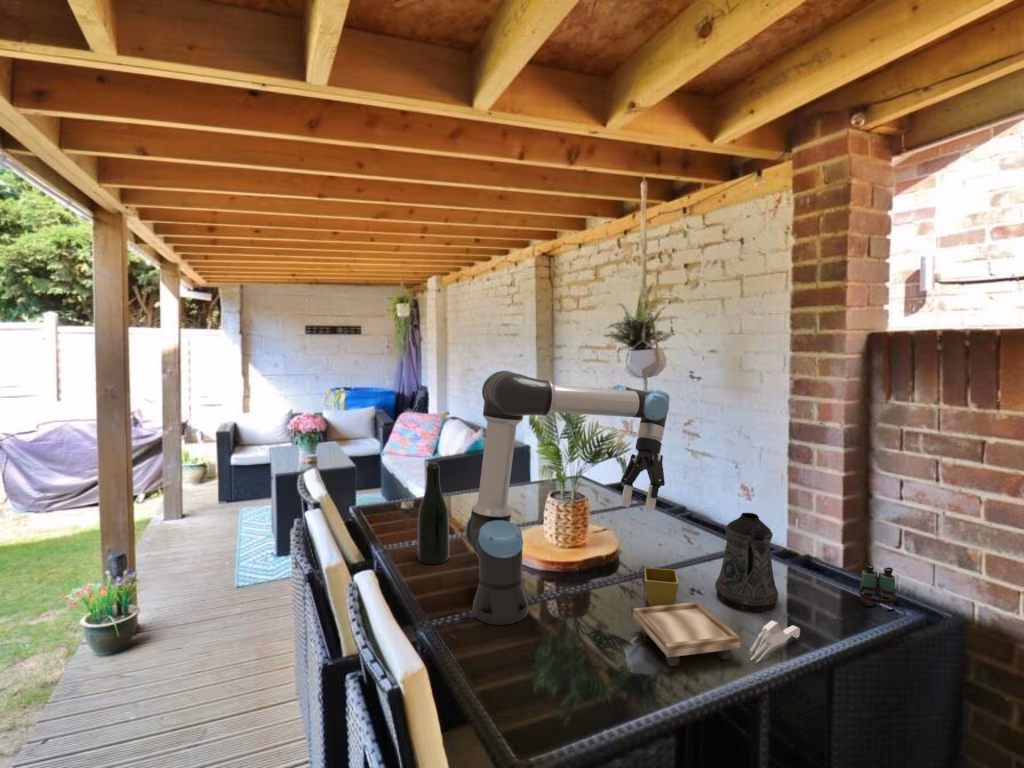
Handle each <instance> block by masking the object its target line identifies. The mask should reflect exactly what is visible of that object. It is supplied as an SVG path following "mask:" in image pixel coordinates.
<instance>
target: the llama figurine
mask: <svg viewBox="0 0 1024 768" xmlns="http://www.w3.org/2000/svg"><path fill="white" fill-rule="evenodd" d="M761 630H762V631H761V632H760V633H759V634H758V635H757V637H756V640H755V641H754V643H753V644H752V646H751V647H750V648H748V652H749V654H750V655H752V654H753V655H752V657H751V658H750V660H751V661H752V660H753V659H755V658H756V657H757V656H758V655H759V654H760V653H761V652H762V651H763V650H764V649H765V648H766V647H767V648H766V650H765V651H764V653H762V655H761V656H760V657H759V658H757V660H756V662H758V661H759V662H760V661H761V659H762V658H763V657H764V656H765V655H766V653H767V652H768V651H770V649H773V648H774V647H775V646H777V645H780V644H782V643H785V642H786V641H788V640H789V639H791V636H793V637H795V638H798V637H799V638H800V634H801V629H800V627H798V626H796V625H793V624H792V625H790V626H789V627H787V628H784V629H781V628H780V625H779V623H778V622H777V621H774V620H770V621H769V622H768V623H766V624H765V625H764V626H762V629H761ZM761 637H762V638H761ZM760 638H761V640H760V644H759V645H758V641H759V639H760ZM764 641H765V642H764ZM757 645H758V648H756V646H757ZM755 648H756V651H754V649H755ZM753 652H754V653H753ZM753 661H754V660H753Z"/></svg>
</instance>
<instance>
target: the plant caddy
mask: <svg viewBox="0 0 1024 768" xmlns="http://www.w3.org/2000/svg"><path fill="white" fill-rule="evenodd" d="M633 619H634V620H635V622H636V623H637V624H638V625H639V626H640V629H641V634H642V635H643V636H644V637H649V638H650V639H651V640H652V641H653V642H654V643H655V644H656V646H657V647H658V648H659V649H660V650H661V651H662V652H663V654H664V655H665V659H666V660H665V661H666V662H667V665H668V666H669V667H675V666H679V665H680V657H681V656H690V655H697V654H699V655H700V654H708V653H713V652H716V654H717V656H718V658H719V659H720V660H729V659H731V658H732V650H736V649H740V648H741V637H740V636H739V635H738V634H737V633H736V632H734V630H732V629H731V628H730V627H728V625H727V624H725V623H723V621H721V620H720V618H718V617H717V616H716V615H714V614H713V613H712V612H711V611H710V610H708V608H706V607H705V606H704V605H703V604H702V603H700V601H694V602H693V601H691V602H683V603H682V602H681V603H674V604H671V605H662V606H652V607H650V606H644V607H634V608H633Z"/></svg>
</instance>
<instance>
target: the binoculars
mask: <svg viewBox="0 0 1024 768" xmlns="http://www.w3.org/2000/svg"><path fill="white" fill-rule="evenodd" d="M864 564H865V565H864V566H865V567H864V568H865V570H862V572H861V580H860V583H859V591H858V592H859V596H860V600H861V601H862V602H864V603H868V604H873V603H874V604H875V603H876V604H880V603H883V604H885V605H888V606H891V607H893V606H894V604H895V602H897V600H898V599H899V597H898V595H896V592H897V591H896V577H895V575H894V574H893V571H894V569H893V567H884V568H883V572H880V571H879V572H877V571H874V569H875V567H874V566H873V565H871V564H870V563H864ZM892 574H893V575H892ZM877 593H878V595H880V596H881V597H880V599H878V598H875V597H874V596H873V595H875V594H877ZM872 597H873V598H872ZM894 607H895V606H894Z"/></svg>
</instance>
